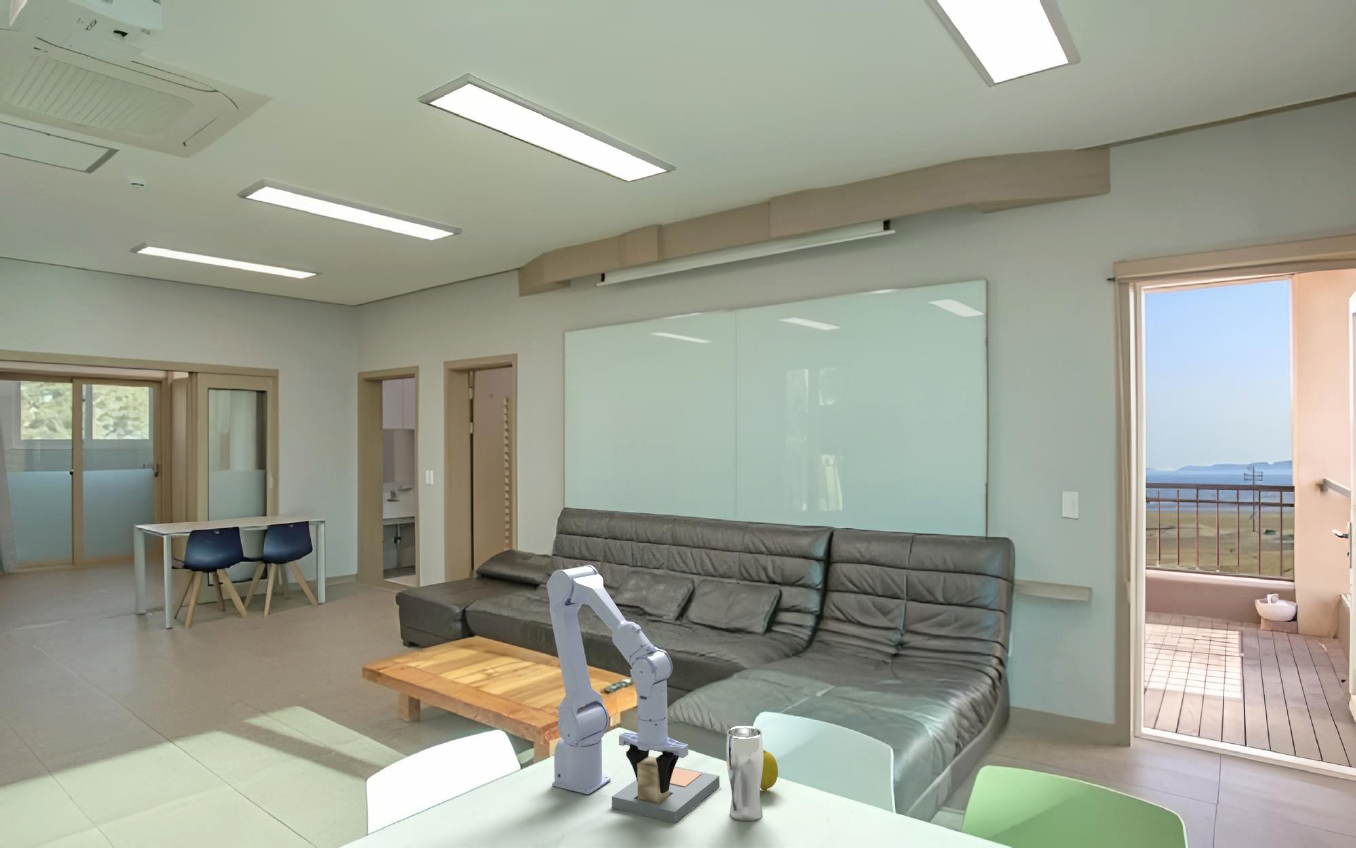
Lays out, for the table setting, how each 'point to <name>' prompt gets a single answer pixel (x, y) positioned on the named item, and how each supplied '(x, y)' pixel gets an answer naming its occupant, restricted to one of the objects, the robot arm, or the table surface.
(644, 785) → the peg
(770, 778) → the lemon
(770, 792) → the table surface
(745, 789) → the beer glass
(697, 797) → the pocket board
